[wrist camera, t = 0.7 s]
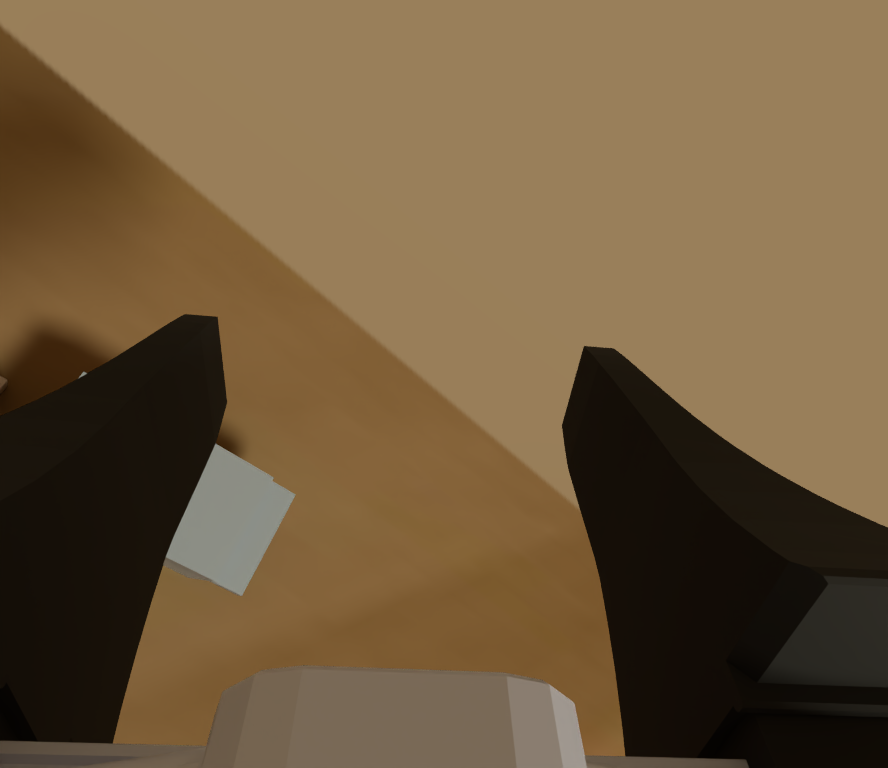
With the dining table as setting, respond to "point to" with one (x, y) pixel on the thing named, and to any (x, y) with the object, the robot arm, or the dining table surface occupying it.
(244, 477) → the block
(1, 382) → the pocket plate
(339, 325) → the dining table surface
